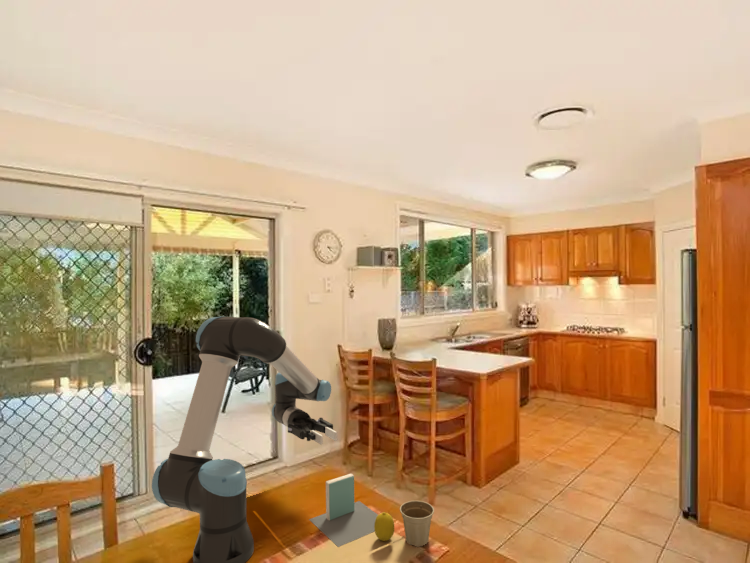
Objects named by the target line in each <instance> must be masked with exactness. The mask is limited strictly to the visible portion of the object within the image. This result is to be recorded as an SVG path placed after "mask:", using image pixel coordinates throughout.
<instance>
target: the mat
mask: <svg viewBox="0 0 750 563" xmlns="http://www.w3.org/2000/svg"><path fill="white" fill-rule="evenodd" d="M354 508H355V511H353V512H350V513H348V514H345V515H342V516H340V517H337V518H335V519H332V520H328V519H327V518H326V512H325V513H322V514H320V515H317V516H315V517H312V518H309V519H308V521H310V522H311V523H312V524H313V525H314V526H315V527H317V529H319V531H321V532H322V533H323V534H324V535H325V536H326V537H327V538H328V539H329V540H330V541H331V542H332V543H333V544H334V545H335V546H336V547H337V548H340V547H342V546H344V545H346V544H349V543H351V542H353V541H356V540H358V539H361V538H363V537H365V536H368V535H370V534H372V533H375V529H374V525H375V520H376V517H377V516H378V515H379V514H378V513H377V512H375V511H374V510H372V509H371V508H370V507H368V506H367V505H366V504H364V503H363V502H362V501H360V500H358V501H356V502H355V501H354Z"/></svg>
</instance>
